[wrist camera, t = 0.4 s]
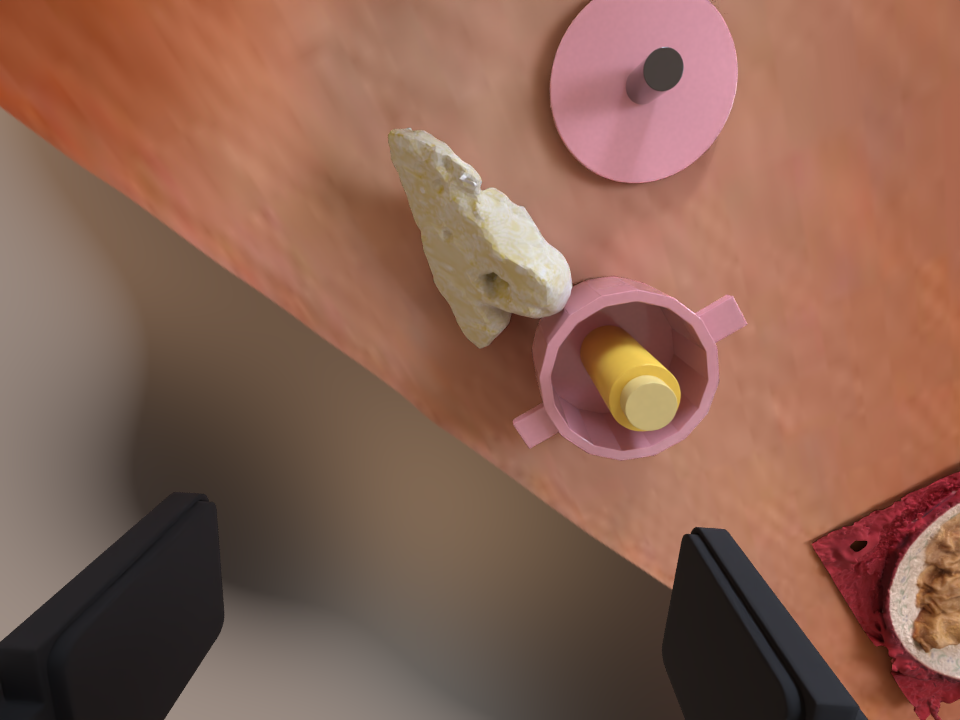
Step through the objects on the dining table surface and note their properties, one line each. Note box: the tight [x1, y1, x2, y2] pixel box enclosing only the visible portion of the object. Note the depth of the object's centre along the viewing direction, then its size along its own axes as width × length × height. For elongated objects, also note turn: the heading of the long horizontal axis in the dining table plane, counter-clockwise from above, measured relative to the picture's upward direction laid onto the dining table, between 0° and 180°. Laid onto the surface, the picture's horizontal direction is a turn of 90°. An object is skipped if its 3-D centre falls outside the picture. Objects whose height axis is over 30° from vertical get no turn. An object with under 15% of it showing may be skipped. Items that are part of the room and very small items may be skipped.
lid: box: [549, 0, 737, 183], centre depth 37 cm, size 14×14×6 cm
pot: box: [513, 276, 747, 460], centre depth 42 cm, size 13×18×8 cm
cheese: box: [388, 128, 572, 349], centre depth 41 cm, size 15×7×15 cm
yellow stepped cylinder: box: [580, 325, 681, 431], centre depth 39 cm, size 5×5×13 cm
